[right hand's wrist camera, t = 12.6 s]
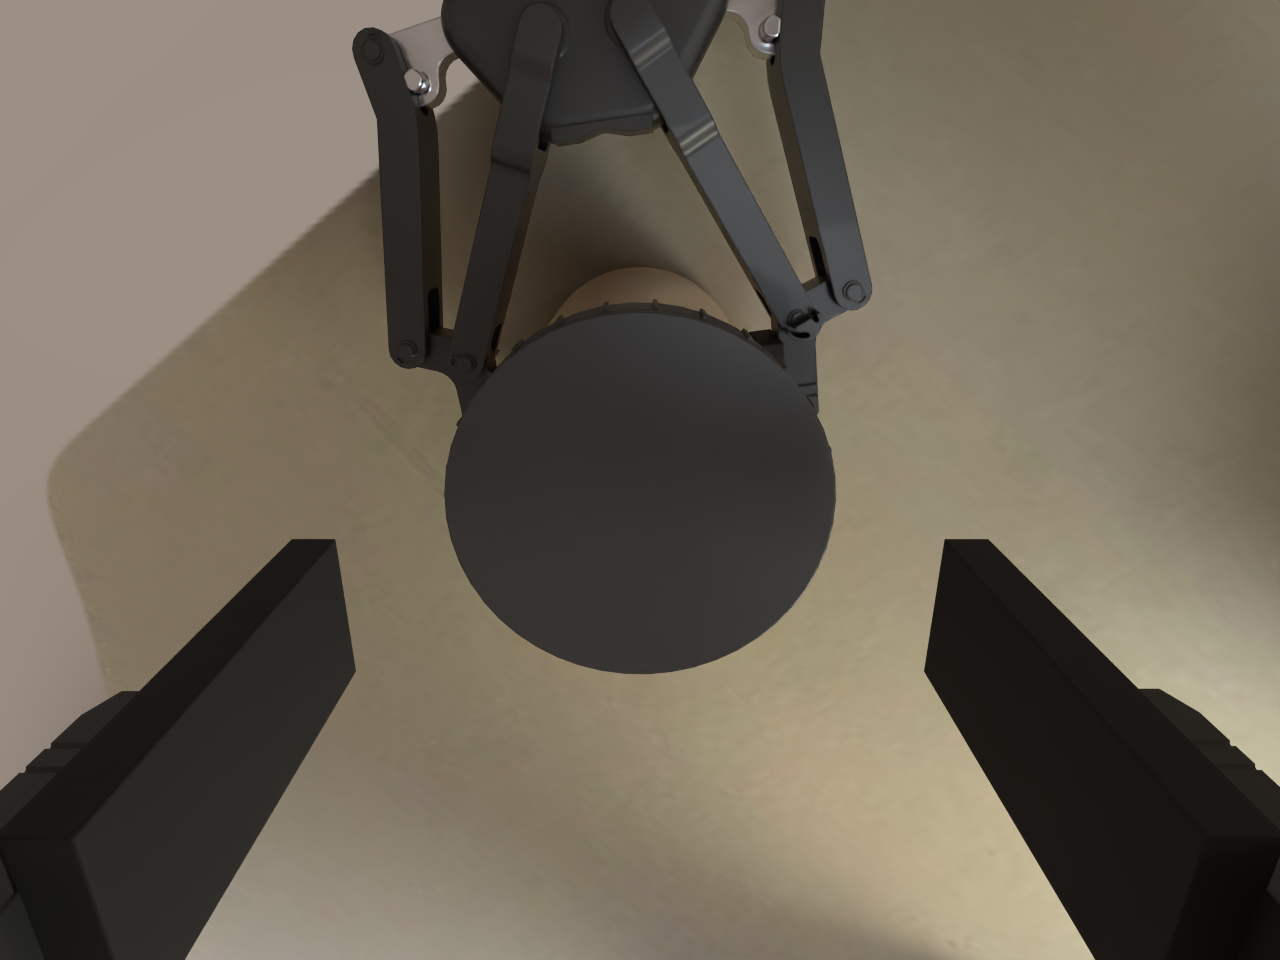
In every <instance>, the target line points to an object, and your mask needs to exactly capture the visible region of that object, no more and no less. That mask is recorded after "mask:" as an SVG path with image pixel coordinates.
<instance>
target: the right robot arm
mask: <svg viewBox="0 0 1280 960" xmlns="http://www.w3.org/2000/svg"><path fill="white" fill-rule="evenodd" d="M355 672H356V669H355V663H354V656H353V650H352V643H351V637H350V631H349V624H348V618H347V611H346V605H345V598H344V592H343V586H342V579H341V573H340V566H339V560H338V554H337V547H336V541H335V539H292V540H291V541H290V542H289V543H288V544H287V545H286V546H285V547H284V548H283V549H282V550H281V551H280V552H279V553H278V554H277V555H276V556H275V557H274V558H273V559H272V560H271V561H270V562H269V563H268V564H267V565H266V566H265V567H264V568H263V569H262V570H261V571H260V572H259V573H258V574H257V575H256V576H255V577H253V578H252V579H251V580H250V581H249V582H248V583H247V584H246V585H245V586H244V587H243V588H242V589H241V590H240V591H239V592H238V593H237V594H236V595H235V596H234V597H233V598H232V599H231V600H230V601H229V602H228V603H227V604H226V605H225V606H224V607H223V608H222V609H221V610H220V611H219V612H218V613H217V614H216V615H215V616H214V617H213V618H212V619H211V620H210V621H209V622H208V623H207V624H206V625H205V626H204V627H203V628H202V629H201V630H200V631H199V632H198V633H197V634H196V635H195V636H194V637H193V638H192V639H191V640H190V641H189V642H188V643H187V644H186V645H185V646H184V647H183V648H182V649H181V650H180V651H179V652H178V653H177V654H176V655H175V656H174V657H173V658H172V659H171V660H170V661H169V662H168V663H167V664H166V665H165V666H164V667H163V668H162V669H161V670H160V671H159V672H158V673H157V674H156V675H155V676H154V677H153V678H152V679H151V680H150V681H149V682H148V683H147V684H146V685H145V686H144V687H143V688H142V689H141V690H140V691H121V692H120V693H118V694H116V695H114V696H113V697H111V698H109V699H108V700H106V701H104V702H103V703H101V704H99V705H98V706H96V707H94V708H92V709H91V710H89V711H88V712H86V713H84V714H82V715H81V716H80V717H79V718H78V719H77V720H75V721H74V722H73V723H72V724H71V725H70V726H69V727H68V728H67V729H66V730H65V731H64V732H63V733H62V734H61V735H59V736H58V737H57V738H56V739H55V740H54V741H53V742H52V743H51V748H50V749H45V750H43V751H42V752H41V753H40V754H39V755H38V756H37V757H36V758H35V759H34V760H33V761H32V762H31V763H29V764H28V765H27V766H26V771H25V772H24V773H19V774H18V775H17V776H16V777H15V778H13V779H12V780H11V781H10V782H9V783H8V784H7V785H6V786H5V787H4V788H3V789H2V790H1V791H0V960H185V958H186V957H187V955H188V953H189V952H190V950H191V948H192V947H193V945H194V943H195V941H196V940H197V938H198V936H199V935H200V933H201V931H202V930H203V928H204V926H205V925H206V923H207V921H208V920H209V918H210V916H211V915H212V913H213V911H214V909H215V908H216V906H217V904H218V903H219V901H220V899H221V898H222V896H223V894H224V893H225V891H226V889H227V888H228V886H229V884H230V883H231V881H232V879H233V877H234V876H235V874H236V872H237V871H238V869H239V867H240V866H241V864H242V862H243V861H244V859H245V857H246V856H247V854H248V852H249V851H250V849H251V847H252V845H253V844H254V842H255V840H256V839H257V837H258V835H259V834H260V832H261V830H262V829H263V827H264V825H265V824H266V822H267V820H268V819H269V817H270V815H271V813H272V812H273V810H274V808H275V807H276V805H277V803H278V802H279V800H280V798H281V797H282V795H283V793H284V792H285V790H286V788H287V787H288V785H289V783H290V781H291V780H292V778H293V776H294V775H295V773H296V771H297V770H298V768H299V766H300V765H301V763H302V761H303V760H304V758H305V756H306V754H307V753H308V751H309V749H310V748H311V746H312V744H313V743H314V741H315V739H316V738H317V736H318V734H319V733H320V731H321V729H322V728H323V726H324V724H325V722H326V721H327V719H328V717H329V716H330V714H331V712H332V711H333V709H334V707H335V706H336V704H337V702H338V701H339V699H340V697H341V696H342V694H343V692H344V690H345V689H346V687H347V685H348V684H349V682H350V680H351V679H352V677H353V675H354V674H355ZM924 672H925V674H926V675H927V677H928V679H929V680H930V682H931V684H932V685H933V687H934V689H935V690H936V692H937V694H938V696H939V697H940V699H941V701H942V702H943V704H944V706H945V707H946V709H947V711H948V712H949V714H950V716H951V717H952V719H953V721H954V722H955V724H956V726H957V728H958V729H959V731H960V733H961V734H962V736H963V738H964V739H965V741H966V743H967V744H968V746H969V748H970V749H971V751H972V753H973V754H974V756H975V758H976V760H977V761H978V763H979V765H980V766H981V768H982V770H983V771H984V773H985V775H986V776H987V778H988V780H989V781H990V783H991V785H992V787H993V788H994V790H995V792H996V793H997V795H998V797H999V798H1000V800H1001V802H1002V803H1003V805H1004V807H1005V808H1006V810H1007V812H1008V813H1009V815H1010V817H1011V819H1012V820H1013V822H1014V824H1015V825H1016V827H1017V829H1018V830H1019V832H1020V834H1021V835H1022V837H1023V839H1024V840H1025V842H1026V844H1027V845H1028V847H1029V849H1030V851H1031V852H1032V854H1033V856H1034V857H1035V859H1036V861H1037V862H1038V864H1039V866H1040V867H1041V869H1042V871H1043V872H1044V874H1045V876H1046V877H1047V879H1048V881H1049V883H1050V884H1051V886H1052V888H1053V889H1054V891H1055V893H1056V894H1057V896H1058V898H1059V899H1060V901H1061V903H1062V904H1063V906H1064V908H1065V909H1066V911H1067V913H1068V915H1069V916H1070V918H1071V920H1072V921H1073V923H1074V925H1075V926H1076V928H1077V930H1078V931H1079V933H1080V935H1081V936H1082V938H1083V940H1084V941H1085V943H1086V945H1087V947H1088V948H1089V950H1090V952H1091V953H1092V955H1093V957H1094V958H1095V960H1280V787H1279V786H1278V785H1277V784H1276V783H1275V782H1274V781H1273V780H1272V779H1271V778H1269V777H1268V776H1267V775H1266V774H1265V773H1264V772H1263V771H1262V770H1256V768H1255V764H1254V763H1253V762H1252V761H1251V760H1250V759H1249V758H1248V757H1247V756H1246V755H1245V754H1244V753H1243V752H1242V751H1240V750H1239V749H1238V748H1237V747H1236V746H1231V745H1230V740H1229V739H1228V738H1226V737H1225V736H1224V735H1223V734H1222V733H1221V732H1220V731H1219V730H1218V729H1217V728H1216V727H1215V726H1214V725H1212V724H1211V723H1210V722H1209V721H1208V720H1207V719H1206V718H1205V717H1204V716H1203V715H1202V714H1201V713H1199V712H1198V711H1196V710H1194V709H1193V708H1191V707H1189V706H1188V705H1186V704H1184V703H1182V702H1181V701H1179V700H1177V699H1176V698H1174V697H1172V696H1171V695H1169V694H1167V693H1165V692H1164V691H1162V690H1160V689H1138V688H1137V687H1136V686H1135V685H1134V684H1133V683H1132V682H1131V681H1130V680H1129V679H1128V678H1127V677H1126V676H1125V675H1124V674H1123V673H1122V672H1121V671H1120V670H1119V669H1118V668H1117V667H1116V666H1115V665H1114V664H1113V663H1112V662H1111V661H1110V660H1109V659H1108V658H1107V657H1106V656H1105V655H1104V654H1103V653H1102V652H1101V651H1100V650H1099V649H1098V648H1097V647H1096V646H1095V645H1094V644H1093V643H1092V642H1091V641H1090V640H1089V639H1088V638H1087V637H1086V636H1085V635H1084V634H1083V633H1082V632H1081V631H1080V630H1079V629H1078V628H1077V627H1076V626H1075V625H1074V624H1073V623H1072V622H1071V621H1070V620H1069V619H1068V618H1067V617H1066V616H1065V615H1064V614H1063V613H1062V612H1061V611H1060V610H1059V609H1058V608H1057V607H1056V606H1055V605H1054V604H1053V603H1052V602H1051V601H1050V600H1049V599H1048V598H1047V597H1046V596H1045V595H1044V594H1043V593H1042V592H1041V591H1040V590H1039V589H1038V588H1037V587H1036V586H1035V585H1034V584H1033V583H1032V582H1031V581H1030V580H1029V579H1028V578H1027V577H1025V576H1024V575H1023V574H1022V573H1021V572H1020V571H1019V570H1018V569H1017V568H1016V567H1015V566H1014V565H1013V564H1012V563H1011V562H1010V561H1009V560H1008V559H1007V558H1006V557H1005V556H1004V555H1003V554H1002V553H1001V552H1000V551H999V550H998V549H997V548H996V547H995V546H994V545H993V544H992V543H991V542H990V541H989V540H988V539H945V541H944V547H943V554H942V560H941V566H940V573H939V579H938V586H937V592H936V598H935V605H934V611H933V618H932V624H931V630H930V637H929V643H928V650H927V656H926V663H925V669H924Z"/></svg>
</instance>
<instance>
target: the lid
mask: <svg viewBox="0 0 1280 960" xmlns="http://www.w3.org/2000/svg"><path fill="white" fill-rule="evenodd" d="M789 371H790V369H789V368H788V367H787V366H786V365H785V364H784V362H783V361H782V360H781V359H780V358H778V359H777V360H776V359H775V358H774V357H773V356H772V355H771V354H770V353H769V352H768V351H767V350H766V349H764V348H763V347H762V346H761V345H760V344H758V343H757V342H756V341H755V340H754V339H753V338H752V336H751V335H750V334H749V333H748V331H747V330H745V329H744V328H743V330H742V331H740V330H738V329H737V328H735V327H734V326H732V325H730V324H728V323H726V322H724V321H722V320H719V319H717V318H715V317H713V316H710V315H708V314H707V313H706V312H705V310H704V309H701V308H700V310H699V311H695V310H692V309H689V308H685V307H681V306H675V305H668V304H662V303H658V301H657V299H653V302H652V303H645V302H629V303H620V304H611V305H609V301H607V302H604V305H603V306H600V307H596V308H592V309H588V310H584V311H580V312H578V313H575V314H573V315H570V316H568V317H565V318H564V317H563V315H561V316H559V317H558V318H557V320H556V321H555V322H554V323H552V324H551V325H549V326H547V327H545V328H544V329H542V330H540V331H538V332H537V333H535V334H534V335H532V336H531V337H530V338H528V339H527V340H526V341H523V339H521V340H520V341H518V343H517V344H516V345H515V346H514V348H513V349H512V352H511V353H510V354H509V355H508V356H507V357H506V358H505V360H504V361H503V362H502V363H501V364H500V365H499V366H498V367H497V368H496V369H495V370H494V372H493V373H491V372H490V371H489V372H488V374H487V375H486V376H485V377H484V378H483V379H482V381H481V382H480V383H479V385H480V386H481V388H480V390H479V391H478V392H477V394H476V395H475V396H474V398H473V399H472V400H471V402H470V404H469V406H468V408H467V410H466V411H465V413H464V415H463V416H462V417H461V418H460V420H459V421H458V422H457V426H458V428H457V431H456V433H455V436H454V439H453V442H452V444H451V448H450V453H449V457H448V462H447V465H446V475H445V491H444V496H445V509H446V519H447V523H448V528H449V533H450V537H451V541H452V544H453V546H454V549H455V552H456V555H457V557H458V560H459V563H460V564H461V566H462V568H463V570H464V572H465V574H466V576H467V578H468V580H469V581H470V583H471V585H472V586H473V587H474V589H475V590H476V592H477V593H478V594H479V596H480V597H481V599H482V600H483V602H484V603H485V604H486V605H487V606H488V607H489V608H490V609H491V610H492V611H493V612H494V614H495V615H496V616H497V617H498V618H499V619H500V620H501V621H502V622H504V623H505V624H506V625H507V626H508V627H510V628H511V629H512V630H513V631H514V632H515V633H517V634H518V635H519V636H521V637H523V638H524V639H526V640H527V641H529V642H530V643H532V644H533V645H535V646H536V647H538V648H540V649H542V650H544V651H546V652H548V653H550V654H552V655H554V656H556V657H558V658H561V659H564V660H566V661H569V662H572V663H575V664H577V665H580V666H584V667H589V668H593V669H597V670H601V671H608V672H616V673H624V674H654V673H665V672H673V671H678V670H683V669H688V668H692V667H696V666H699V665H702V664H705V663H708V662H711V661H714V660H717V659H719V658H722V657H724V656H726V655H728V654H730V653H732V652H735V651H737V650H739V649H740V648H742V647H744V646H745V645H747V644H748V643H750V642H752V641H753V640H755V639H757V638H758V637H759V636H761V635H762V634H763V633H764V632H766V631H767V630H768V629H770V628H771V627H772V626H773V625H775V624H776V623H777V622H778V621H779V620H780V619H781V618H782V617H783V616H784V615H785V614H786V613H787V612H788V611H789V610H790V609H791V608H792V607H793V605H794V604H795V603H796V601H797V600H798V599H799V597H800V596H801V595H802V594H803V592H804V591H805V590H806V588H807V587H808V585H809V583H810V581H811V580H812V578H813V576H814V574H815V573H816V571H817V569H818V567H819V565H820V562H821V560H822V558H823V555H824V553H825V550H826V548H827V545H828V541H829V537H830V533H831V530H832V526H833V520H834V511H835V503H836V490H835V473H834V467H833V461H832V455H831V452H832V451H831V448H830V446H829V444H828V441H827V438H826V435H825V432H824V429H823V427H822V425H821V423H820V421H819V419H818V417H817V415H816V413H815V411H814V410H816V407H815V405H814V404H813V403H812V401H811V400H810V399H809V398H808V397H807V395H806V394H805V395H804V393H803V392H802V390H801V389H800V387H799V386H798V385H797V383H796V382H795V381H794V380H793V379H792V377H791V376H790V375H789V374H788V372H789Z"/></svg>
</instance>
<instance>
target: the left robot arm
mask: <svg viewBox="0 0 1280 960" xmlns="http://www.w3.org/2000/svg"><path fill="white" fill-rule="evenodd" d="M824 5H825V0H444V1H443V4H442V9H441V17H438V18H435V19H432V20H429V21H426V22H424V23H420V24H417V25H415V26H412V27H409V28H406V29H403V30H400V31H397V32H394V33H391V34H386V33H385V32H383V31H382V30H379V29H376V28H373V27H372V28H364V29H363V30H361V31H360V32H358V33H357V35H356V37H355V38H354V40H353V47H352V50H353V55H354V59H355V62H356V64H357V67H358V70H359V73H360V75H361V78H362V80H363V83H364V86H365V89H366V91H367V94H368V97H369V99H370V102H371V105H372V107H373V110H374V113H375V115H376V118H377V129H378V148H379V168H380V187H381V207H382V226H383V245H384V265H385V284H386V304H387V323H388V342H389V352H390V356H391V358H392V359H393V361H394V362H395V363H396V364H397V365H399V366H400V367H403V368H407V369H411V368H416V367H420V368H424V369H429V370H434V371H438V372H441V373H443V374H445V375H447V376H448V377H449V378H450V379H451V380H452V381H453V383H454V384H455V386H456V389H457V393H458V397H459V402H460V406H461V411H462V416H463V415H464V413H465V411H466V410H467V408H468V406H469V404H470V402H471V400H472V399H473V398H474V396H475V395H476V394H477V392H478V391H479V390H480V388H481V386H480V385H479V383H480V382H481V381H482V379H483V378H484V377H485V376H486V375H487V374H488V372H489V371H490V372H491V373H493V372H494V370H495V369H496V368H497V365H496V360H495V357H496V356H497V355H498V353H499V351H500V350H497V348H498V344H499V340H500V336H501V332H502V328H503V324H504V320H505V316H506V312H507V308H508V304H509V300H510V296H511V292H512V288H513V284H514V280H515V276H516V272H517V268H518V264H519V260H520V256H521V252H522V248H523V244H524V240H525V236H526V232H527V228H528V224H529V220H530V216H531V212H532V208H533V204H534V200H535V196H536V192H537V188H538V184H539V180H540V177H541V175H542V173H543V170H544V167H545V163H546V159H547V155H548V151H549V147H550V143H551V144H555V145H557V146H565V145H572V144H579V143H583V142H585V141H587V140H589V139H591V138H594V137H596V136H598V135H600V134H602V133H611V134H618V135H625V136H634V135H641V134H648V133H653V130H655V129H657V128H659V127H661V129H662V130H663V132H664V134H665V136H666V137H667V139H668V141H669V143H670V144H671V146H672V148H673V149H674V151H675V153H676V154H677V156H678V157H679V159H680V160H681V162H682V164H683V165H684V167H685V169H686V171H687V172H688V174H689V176H690V178H691V179H692V181H693V183H694V185H695V186H696V188H697V190H698V192H699V193H700V195H701V197H702V199H703V200H704V202H705V204H706V206H707V207H708V209H709V211H710V213H711V214H712V216H713V218H714V220H715V222H716V223H717V225H718V227H719V229H720V230H721V232H722V234H723V236H724V237H725V239H726V241H727V243H728V244H729V246H730V248H731V250H732V251H733V253H734V255H735V257H736V258H737V260H738V262H739V264H740V265H741V267H742V269H743V271H744V273H745V274H746V276H747V278H748V280H749V281H750V283H751V285H752V287H753V288H754V290H755V292H756V294H757V295H758V297H759V299H760V301H761V302H762V304H763V306H764V308H765V309H766V311H767V313H768V315H769V316H770V318H771V327H772V331H771V330H770V329H768V330H761V331H753V332H749V334H750V335H751V336H752V338H753V339H754V340H755V341H756V342H757V343H758V344H760V345H761V346H762V347H763V348H764V349H766V350H767V351H768V352H769V353H770V354H771V355H772V356H773V357H774V358H775V359H776V360H777V359H778V358H780V359H781V360H782V361H783V362H784V364H785V365H786V366H787V367H788V368H789V369H790V371H789V372H788V374H789V375H790V376H791V377H792V379H793V380H794V381H795V382H796V383H797V385H798V386H799V387H800V389H801V390H802V392H803V393H804V395H805V394H806V395H807V397H808V398H809V399H810V400H811V401H812V403H813V404H814V405H815V407H816V410H814V411H815V413H816V415H817V414H818V411H819V408H818V388H817V368H816V348H815V341H816V336H817V334H818V333H819V331H820V329H821V327H822V325H823V324H824V323H825V322H827V321H828V320H830V319H832V318H834V317H836V316H838V315H840V314H842V313H844V312H846V311H848V310H857V309H859V308H861V307H863V306H865V304H866V303H867V302H868V301H869V300H870V297H871V294H872V283H871V279H870V274H869V270H868V266H867V261H866V257H865V252H864V248H863V243H862V239H861V234H860V230H859V225H858V221H857V217H856V212H855V208H854V203H853V199H852V194H851V190H850V185H849V181H848V177H847V172H846V168H845V163H844V159H843V154H842V150H841V145H840V141H839V137H838V132H837V128H836V123H835V119H834V114H833V110H832V105H831V101H830V97H829V92H828V88H827V83H826V79H825V74H824V70H823V65H822V61H821V56H820V48H821V37H822V27H823V16H824ZM723 18H726V19H731V20H733V21H735V22H737V23H738V25H739V26H740V27H741V29H742V31H743V33H744V38H745V43H746V47H747V49H748V51H749V52H750V53H751V54H752V56H754V57H756V58H758V59H763V60H767V61H766V66H767V78H768V85H769V90H770V95H771V100H772V104H773V108H774V112H775V116H776V120H777V124H778V128H779V132H780V136H781V140H782V144H783V148H784V152H785V156H786V160H787V164H788V168H789V172H790V176H791V180H792V184H793V188H794V192H795V196H796V200H797V204H798V208H799V212H800V216H801V220H802V224H803V228H804V232H805V236H806V240H807V244H808V248H809V252H810V256H811V260H812V264H813V268H814V272H815V276H816V277H815V278H813V279H811V280H809V281H807V282H805V283H803V284H801V283H800V281H799V279H798V277H797V275H796V273H795V272H794V270H793V268H792V266H791V264H790V262H789V261H788V259H787V257H786V255H785V253H784V251H783V250H782V248H781V246H780V244H779V242H778V240H777V239H776V237H775V235H774V233H773V231H772V229H771V228H770V226H769V224H768V222H767V220H766V218H765V217H764V215H763V213H762V211H761V209H760V207H759V206H758V204H757V202H756V200H755V198H754V196H753V195H752V193H751V191H750V189H749V187H748V185H747V184H746V182H745V180H744V178H743V176H742V174H741V173H740V171H739V169H738V167H737V165H736V163H735V162H734V160H733V158H732V156H731V154H730V153H729V151H728V149H727V147H726V145H725V143H724V142H723V140H722V138H721V136H720V134H719V132H718V130H717V127H716V124H715V122H714V119H713V117H712V115H711V113H710V112H709V110H708V108H707V106H706V104H705V102H704V101H703V99H702V97H701V95H700V93H699V91H698V90H697V88H696V86H695V84H694V82H693V80H692V79H693V77H694V75H695V73H696V71H697V69H698V67H699V65H700V63H701V61H702V59H703V57H704V55H705V53H706V51H707V49H708V47H709V45H710V43H711V41H712V39H713V37H714V35H715V33H716V31H717V29H718V27H719V25H720V23H721V21H722V19H723ZM458 58H460V59H461V61H462V62H463V63H464V64H465V65H466V66H467V67H468V68H469V69H470V70H471V72H472V73H473V74H474V75H475V76H476V77H477V78H478V79H479V80H480V81H481V83H482V84H483V85H484V86H485V87H486V88H487V89H488V90H489V91H490V92H491V94H492V95H493V96H494V97H495V98H496V99H497V100H498V101H499V102H500V103H501V109H500V114H499V118H498V123H497V127H496V131H495V136H494V140H493V145H492V150H491V168H490V172H489V177H488V181H487V186H486V190H485V195H484V199H483V203H482V208H481V212H480V217H479V221H478V225H477V230H476V234H475V239H474V243H473V248H472V252H471V256H470V261H469V265H468V270H467V274H466V278H465V283H464V287H463V292H462V296H461V300H460V305H459V309H458V314H457V318H456V323H455V327H454V330H452V329H448V328H443V303H442V265H441V226H440V188H439V150H438V134H437V126H436V121H435V115H434V111H433V108H435V107H437V106H439V105H440V104H441V103H442V102H443V100H444V98H445V96H446V91H447V89H446V78H445V77H446V71H447V69H448V67H449V65H450V64H451V63H452V62H453V61H454V60H456V59H458Z"/></svg>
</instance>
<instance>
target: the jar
mask: <svg viewBox="0 0 1280 960" xmlns="http://www.w3.org/2000/svg"><path fill="white" fill-rule="evenodd" d="M653 299H657V301H658V303H662V304H668V305H675V306H681V307H685V308H689V309H692V310H695V311H699V310H700V308H701V309H704V310H705V312H706V313H707V314H708V315H710V316H713V317H715V318H717V319H719V320H722V321H724V322H726V323H728V324H730V325H732V324H731V322H730V321H729V320H728V318H727V317H726V315H725V314H724V312H723V311H722V310H721V308H720V307H719V305H718V304H717V303H716V302H715V301H714V300H713V298H712V297H711V296H710V295H709V294H708V293H707V292H705V291H704V290H703V289H702V288H701V287H699V286H698V285H697V284H695V283H693V282H692V281H690V280H689V279H687V278H685V277H683V276H680V275H678V274H676V273H673V272H670V271H667V270H663V269H658V268H652V267H629V268H621V269H617V270H614V271H610V272H607V273H605V274H602V275H600V276H597V277H595V278H593V279H592V280H590V281H588V282H587V283H585V284H584V285H582V286H581V287H580V288H578V289H577V290H576V291H574V293H573V294H572V295H571V296H570V297H569V298H568V299H567V300H566V301H565V302H564V303H563V305H562V306H561V307H560V309H559V310H558V311H557V313H556V314H555V315H554V317H553V318H552V320H551V321H550V323H549V324H548V325H547V326H549V325H551V324H552V323H554V322H555V321H556V320H557V318H558V317H559V316H561V315H563V317H564V318H565V317H568V316H570V315H573V314H575V313H578V312H580V311H584V310H588V309H592V308H596V307H600V306H603V305H604V302H607V301H609V305H611V304H620V303H629V302H645V303H652V302H653ZM732 326H733V325H732Z"/></svg>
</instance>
